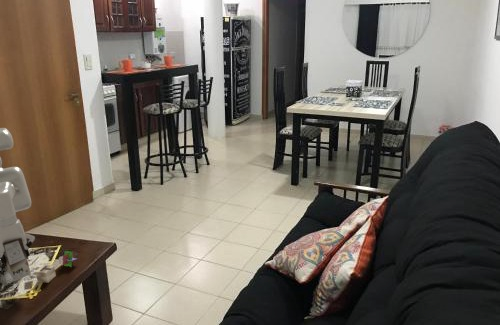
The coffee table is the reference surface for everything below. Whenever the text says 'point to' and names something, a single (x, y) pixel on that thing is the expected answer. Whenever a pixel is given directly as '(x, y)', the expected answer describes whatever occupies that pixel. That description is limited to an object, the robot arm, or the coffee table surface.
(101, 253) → the coffee table surface
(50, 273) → the letter block
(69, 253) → the geometric puzzle
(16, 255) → the coffee box
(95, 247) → the coffee table surface
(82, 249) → the coffee table surface
